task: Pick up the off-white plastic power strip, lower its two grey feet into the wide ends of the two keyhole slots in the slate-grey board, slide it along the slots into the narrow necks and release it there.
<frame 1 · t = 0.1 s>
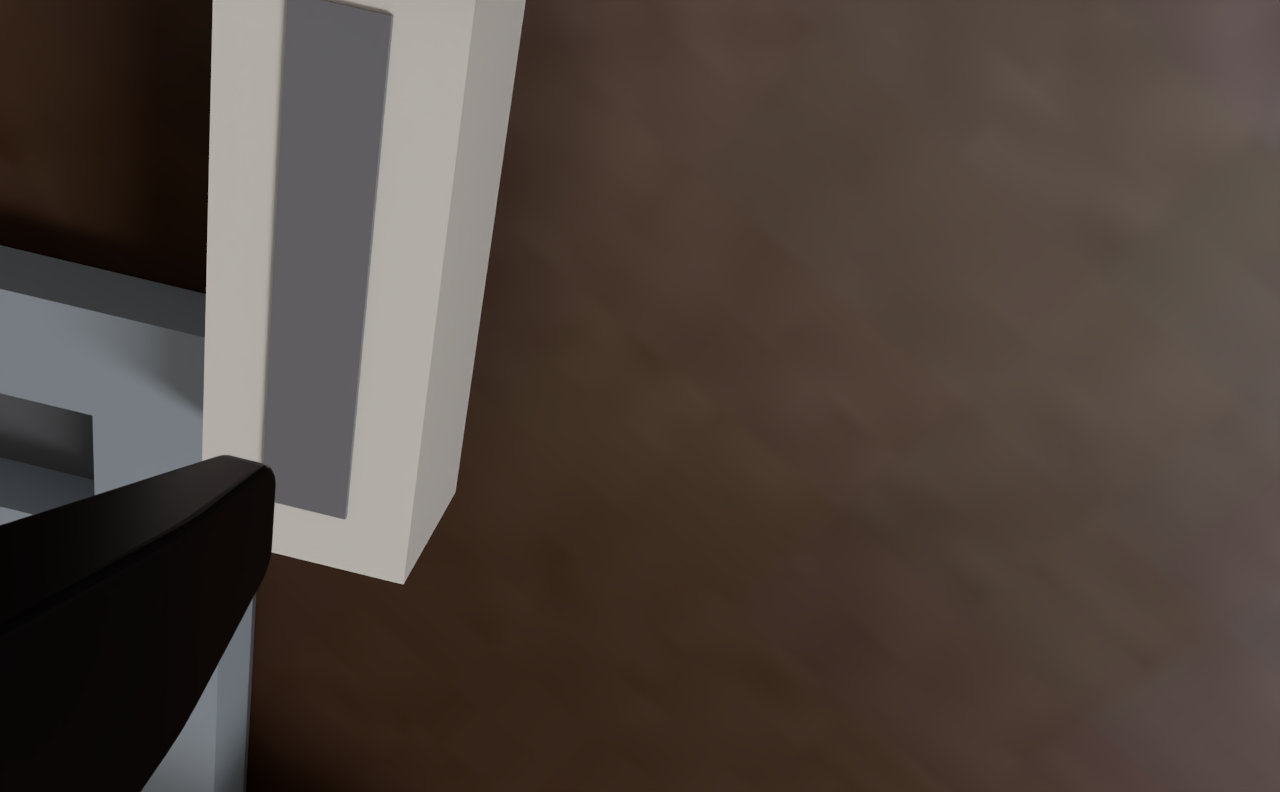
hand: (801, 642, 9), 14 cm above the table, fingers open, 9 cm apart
power strip: (421, 164, 23), on the table
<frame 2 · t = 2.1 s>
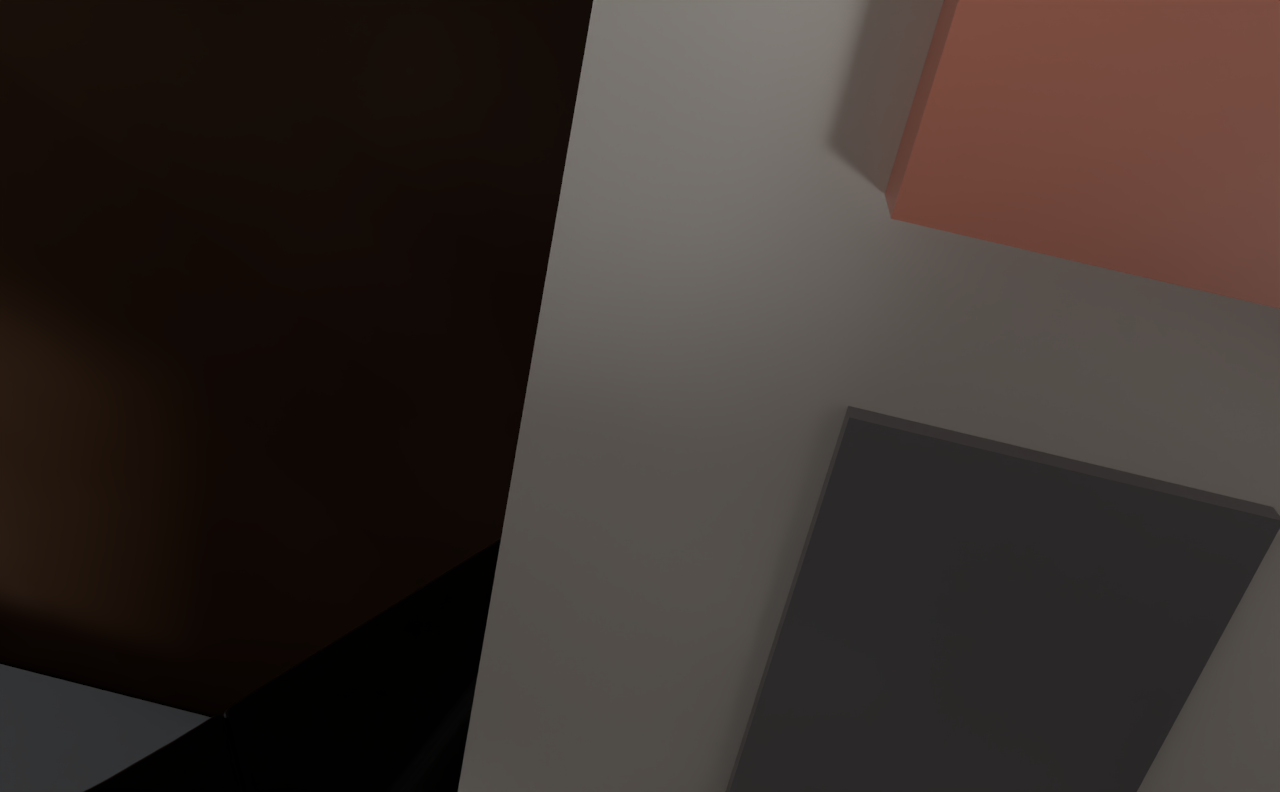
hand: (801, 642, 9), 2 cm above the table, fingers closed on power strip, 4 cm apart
power strip: (801, 539, 10), on the table, touching gripper
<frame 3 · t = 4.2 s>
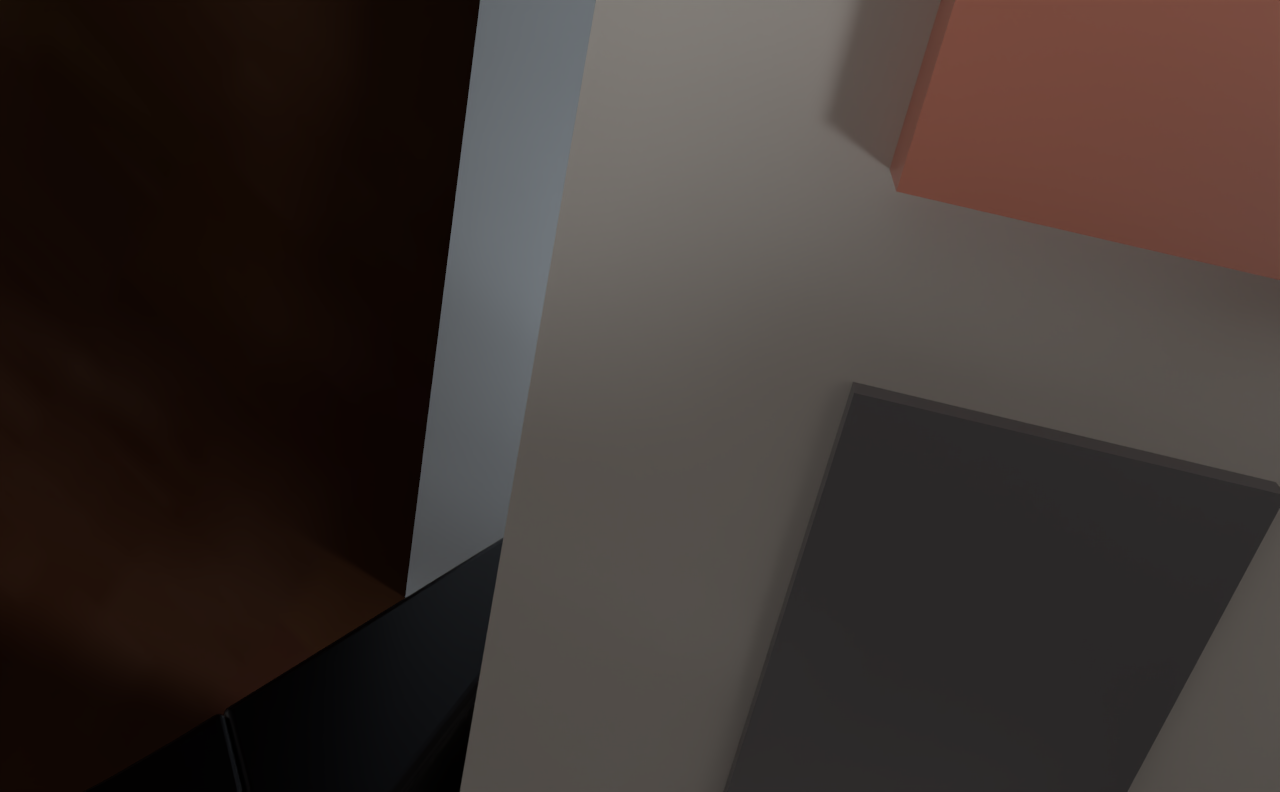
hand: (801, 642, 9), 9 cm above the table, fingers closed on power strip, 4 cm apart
keyhole board: (932, 307, 17), on the table
power strip: (803, 529, 10), point 7 cm above the table, touching gripper
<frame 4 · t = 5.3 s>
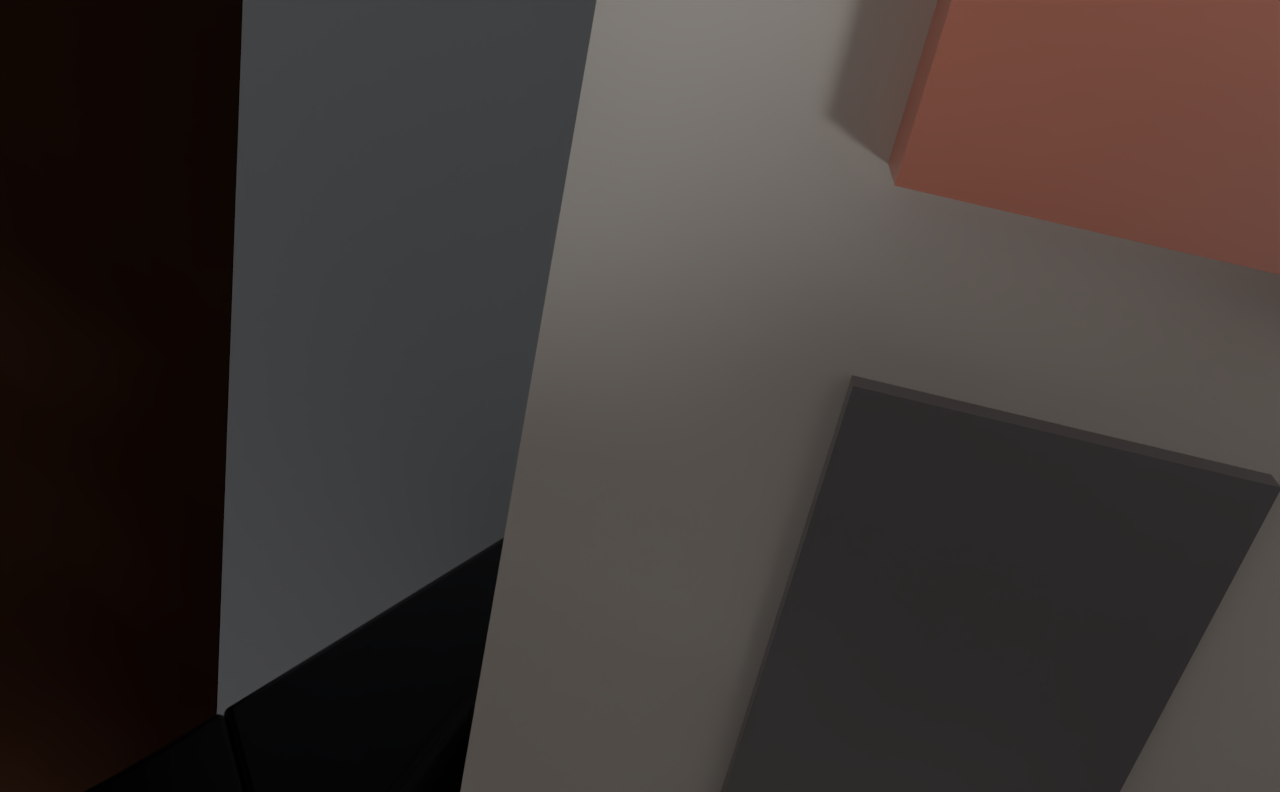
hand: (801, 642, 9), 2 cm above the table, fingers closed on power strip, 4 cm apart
keyhole board: (1001, 538, 11), on the table
power strip: (803, 526, 10), point 1 cm above the table, touching gripper
when the fingers open (2 cm above the table, at t = 6.4 s): power strip stays where it is, resting on keyhole board.
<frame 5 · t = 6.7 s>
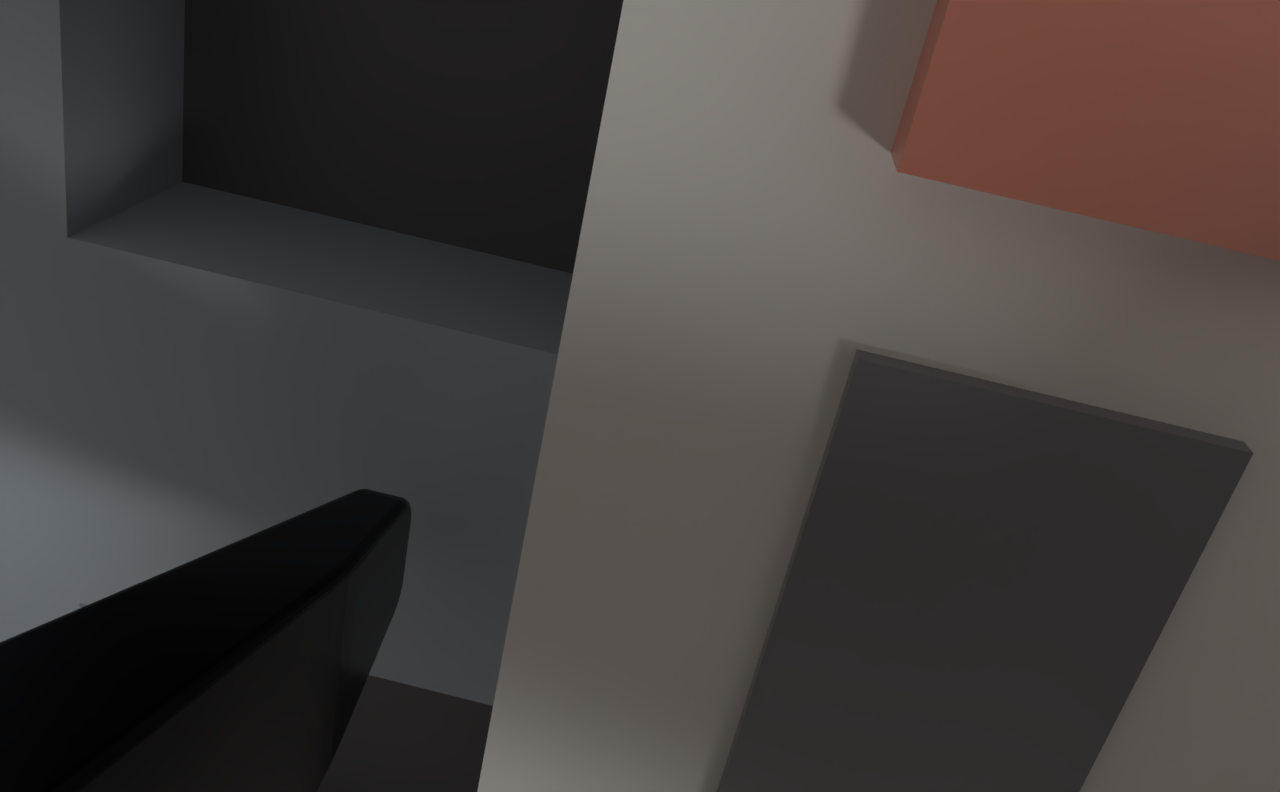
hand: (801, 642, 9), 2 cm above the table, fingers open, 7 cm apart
keyhole board: (608, 447, 11), on the table
power strip: (805, 510, 11), resting on keyhole board
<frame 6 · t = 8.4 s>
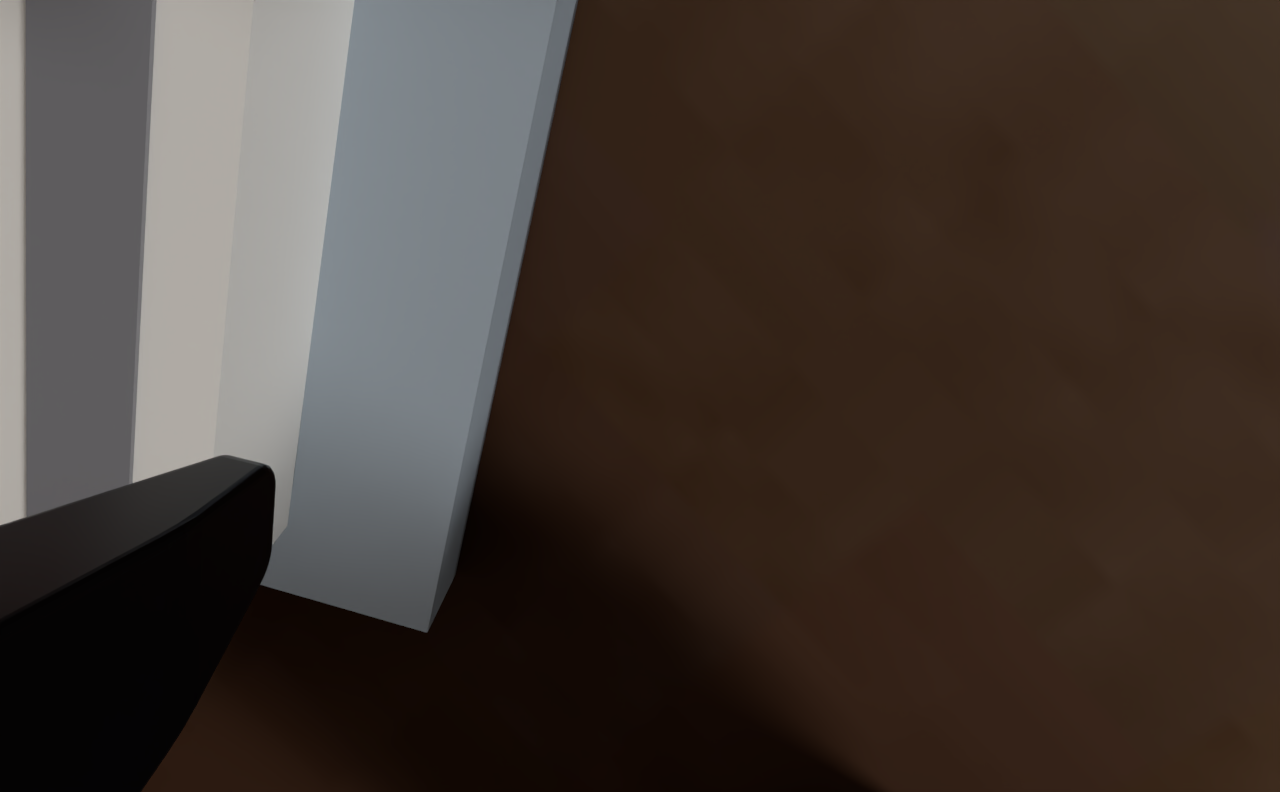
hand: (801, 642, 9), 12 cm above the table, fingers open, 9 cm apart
keyhole board: (156, 114, 20), on the table
power strip: (254, 147, 20), resting on keyhole board
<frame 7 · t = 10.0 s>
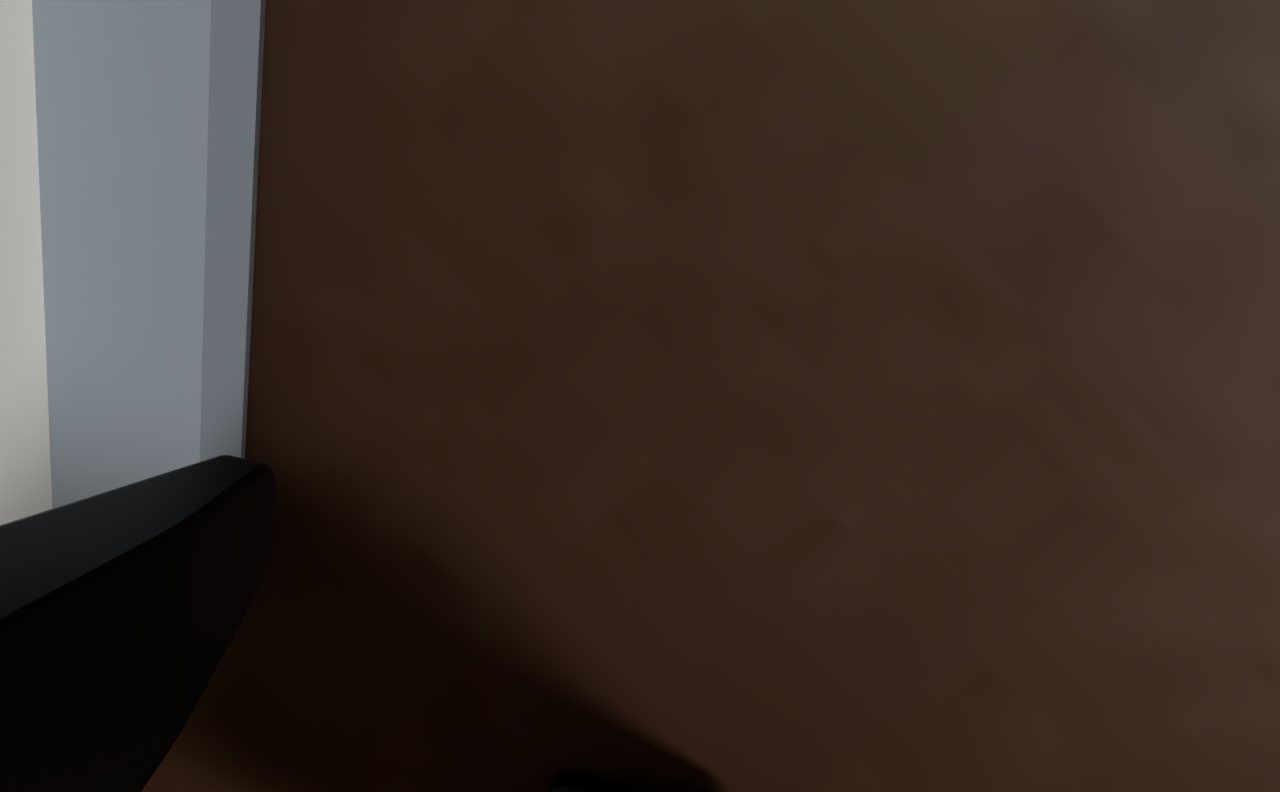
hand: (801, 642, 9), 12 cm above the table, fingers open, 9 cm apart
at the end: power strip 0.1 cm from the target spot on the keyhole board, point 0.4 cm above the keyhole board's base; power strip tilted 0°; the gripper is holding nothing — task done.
